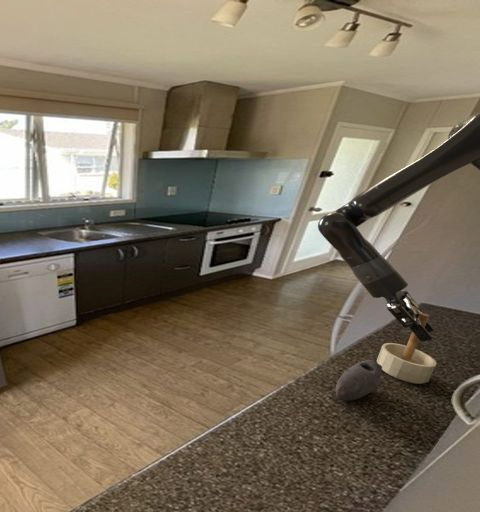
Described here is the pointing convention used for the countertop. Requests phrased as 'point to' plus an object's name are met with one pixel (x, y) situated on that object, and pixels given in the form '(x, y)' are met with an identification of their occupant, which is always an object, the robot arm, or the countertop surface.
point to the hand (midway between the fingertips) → (427, 335)
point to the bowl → (406, 364)
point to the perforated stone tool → (359, 380)
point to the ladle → (414, 339)
